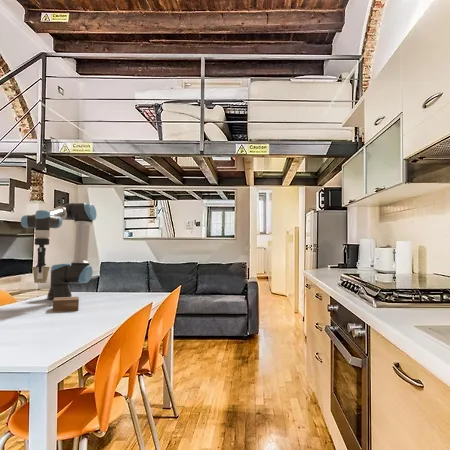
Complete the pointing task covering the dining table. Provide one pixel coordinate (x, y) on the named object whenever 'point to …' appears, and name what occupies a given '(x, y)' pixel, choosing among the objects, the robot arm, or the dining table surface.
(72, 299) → the walnut block
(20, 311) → the dining table surface
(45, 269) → the flower pot
